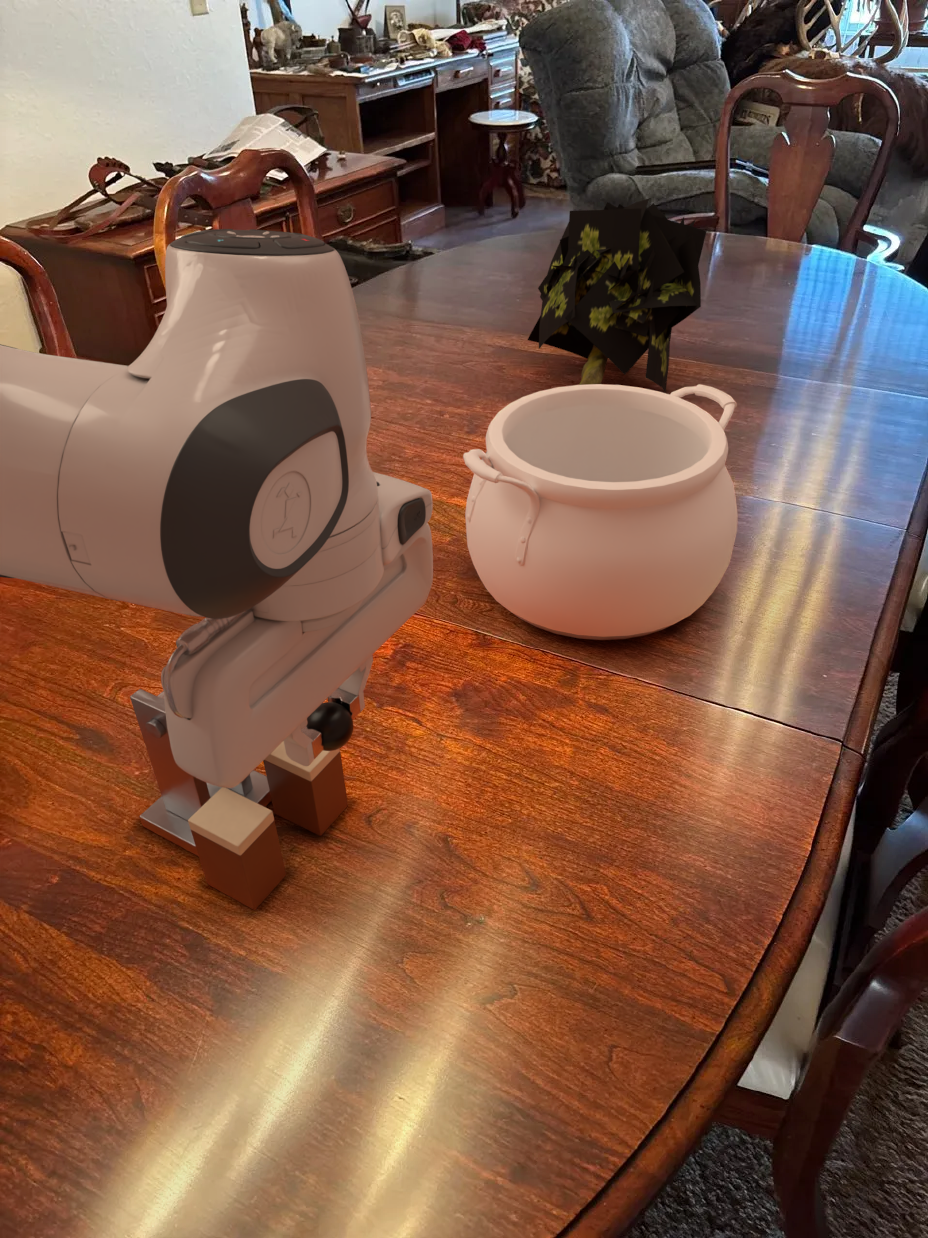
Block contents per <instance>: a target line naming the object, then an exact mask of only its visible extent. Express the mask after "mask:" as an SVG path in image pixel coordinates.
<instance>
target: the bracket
mask: <svg viewBox="0 0 928 1238" xmlns="http://www.w3.org/2000/svg"><path fill="white" fill-rule="evenodd" d="M157 696H158V695H155V694H153V693H151V692H148V691H146V690H145V689H142V688H139V689H137V690H136V691H135V692H134V693H133V694H131V695H130V696H129V699H130V703H131V705H132V708H133V711H134V714H135V717H136V721H137V724H138V727H139V729H140V733H141V736H142V739H143V742H144V745H145V748H146V751H147V755H148V757H149V758H148V759H149V761H150V764H151V767H152V770H153V773H154V777H155V779H156V783H157V785H158V789H159V792H160V795H161V796H160V797H159V798H157V800H155V802H153V803H152V804H151V805H150V806H149V807H148V808H147V809H146V810H144V811H143V813H141V814H140V815H139V819H140V823H141V825H142V827H143V828H145V829H147V830H148V831H151V832H153V833H154V834H156V835H158V836H160V837H161V838H164V839H165V840H167V841H170V842H171V843H173V844H174V845H177V846H178V847H180V848H181V849H184V850H186V851H188V852H189V853H191V854H193V855H195V856H197V857H198V858H199V856H198V852H197V849H196V846H195V842H194V839H193V836H192V833H191V829H190V826H189V823H188V819H189V818H190V817H191V816H193V815H194V814H195V813H196V812H197V811H198V810H199V809H200V808H201V807H202V806H203V805H204V804H205V803H206V802H207V801H208V800H209V799H210V798H211V797H212V796H213V795H214V794H216V793H217V792H218V791H219V790H220V789H221V788H222V787H219V786H215V785H212V784H209V783H206V782H204V781H202V780H200V779H198V778H196V777H194V776H192V775H190V774H189V773H187V772H185V771H184V770H182V769H181V768H180V767H179V766H178V765H177V764H176V762H175V760H174V757H173V754H172V750H171V745H170V740H169V735H168V728H167V721H166V713H165V702H164V699H162V698H160V697H157ZM227 789H229V790H231V791H233V792H235V793H237V794H239V795H241V796H243V797H245V798H247V799H249V800H251V801H253V802H255V803H257V804H260V805H262V806H264V807H266V808H267V806H268V805H269V804H270V803H272V799H271V794H270V790H269V785H268V780H267V776H266V774H263V773H261V772H258V771H257V770H255V769H254V770H253V771H252V772H251V773H250V774H249V775H248V776H247V777H246V778H245V779H244V780H243V781H242V782H241V783H240V784H238V785H237V786H235V787H233V788H227Z"/></svg>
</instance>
